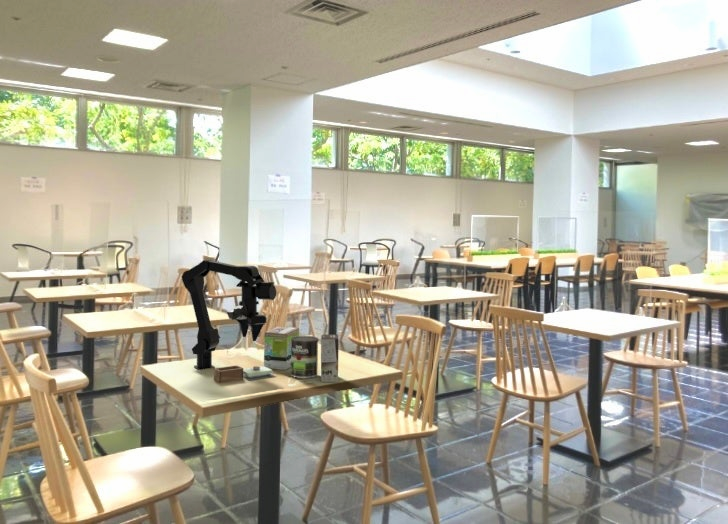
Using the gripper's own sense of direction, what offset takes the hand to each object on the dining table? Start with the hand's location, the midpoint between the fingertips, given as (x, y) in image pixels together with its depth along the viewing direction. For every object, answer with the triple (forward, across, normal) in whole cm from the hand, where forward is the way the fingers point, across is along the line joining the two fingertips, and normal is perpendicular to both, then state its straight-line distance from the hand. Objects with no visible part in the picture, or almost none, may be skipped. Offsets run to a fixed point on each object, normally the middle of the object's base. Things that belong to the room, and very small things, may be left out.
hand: (249, 339), depth 229 cm
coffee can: (+13, +15, +16) cm, 26 cm away
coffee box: (+13, +25, +21) cm, 35 cm away
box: (+13, +9, -12) cm, 20 cm away
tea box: (+13, -4, +16) cm, 21 cm away
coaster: (+13, +9, -1) cm, 16 cm away
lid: (+12, +9, -1) cm, 15 cm away
